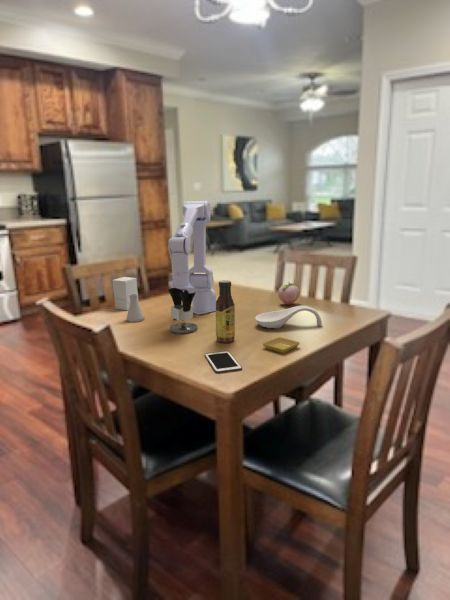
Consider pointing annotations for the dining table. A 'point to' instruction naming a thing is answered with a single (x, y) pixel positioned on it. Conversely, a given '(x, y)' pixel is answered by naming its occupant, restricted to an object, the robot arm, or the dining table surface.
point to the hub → (183, 328)
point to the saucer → (279, 347)
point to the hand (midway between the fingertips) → (182, 309)
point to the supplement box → (124, 291)
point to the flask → (134, 310)
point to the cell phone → (223, 362)
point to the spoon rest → (283, 316)
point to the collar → (181, 312)
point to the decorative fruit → (288, 293)
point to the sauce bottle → (225, 313)
